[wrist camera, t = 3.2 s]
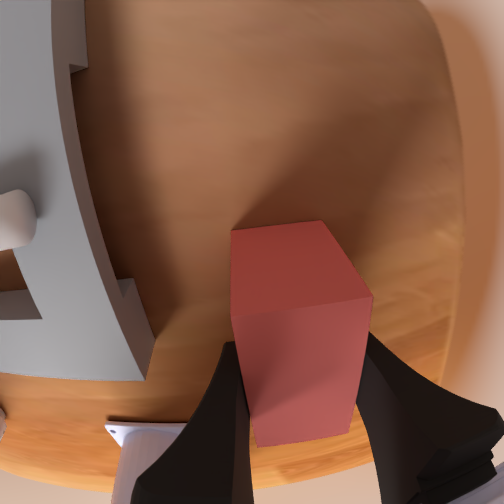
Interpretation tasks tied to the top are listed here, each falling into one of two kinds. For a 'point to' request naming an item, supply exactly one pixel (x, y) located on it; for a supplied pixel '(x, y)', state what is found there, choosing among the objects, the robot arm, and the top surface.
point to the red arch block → (297, 330)
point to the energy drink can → (2, 423)
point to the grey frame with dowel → (56, 213)
